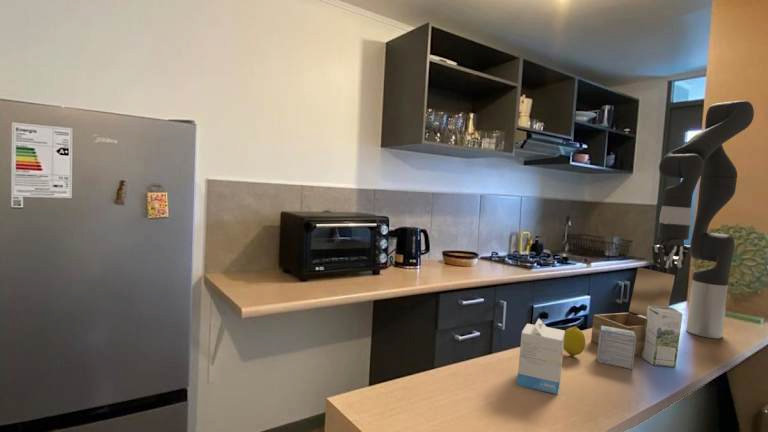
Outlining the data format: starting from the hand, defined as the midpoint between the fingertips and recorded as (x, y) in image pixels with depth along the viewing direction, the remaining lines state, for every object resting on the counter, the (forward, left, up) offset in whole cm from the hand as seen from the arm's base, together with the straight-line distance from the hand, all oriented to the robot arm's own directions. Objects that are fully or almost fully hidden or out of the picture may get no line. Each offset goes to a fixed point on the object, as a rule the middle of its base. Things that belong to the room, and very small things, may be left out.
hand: (667, 279), depth 124 cm
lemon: (+37, +2, -19) cm, 42 cm away
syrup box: (+16, +10, -19) cm, 27 cm away
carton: (+15, 0, -19) cm, 24 cm away
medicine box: (+29, +8, -20) cm, 36 cm away
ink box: (+57, +12, -20) cm, 61 cm away
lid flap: (+7, 0, -4) cm, 8 cm away
